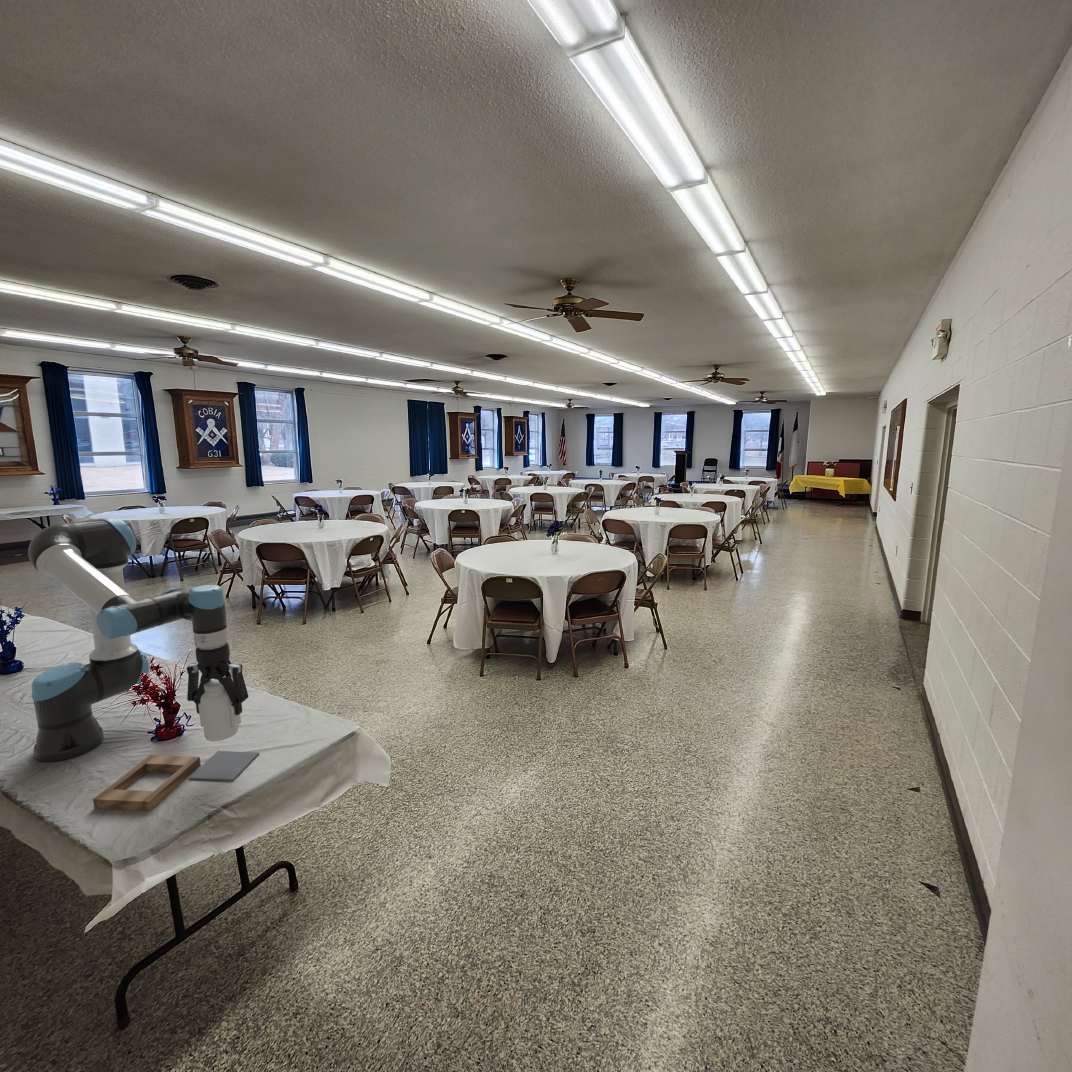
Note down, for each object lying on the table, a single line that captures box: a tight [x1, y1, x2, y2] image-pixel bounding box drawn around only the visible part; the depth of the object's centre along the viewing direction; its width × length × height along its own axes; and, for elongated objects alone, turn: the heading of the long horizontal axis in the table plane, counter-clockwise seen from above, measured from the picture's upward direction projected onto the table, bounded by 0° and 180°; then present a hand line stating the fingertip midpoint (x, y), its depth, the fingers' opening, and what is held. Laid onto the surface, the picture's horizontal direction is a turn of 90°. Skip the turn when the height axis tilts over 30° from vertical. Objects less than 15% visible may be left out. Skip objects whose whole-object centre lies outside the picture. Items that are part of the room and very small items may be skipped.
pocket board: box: [92, 754, 202, 812], centre depth 136 cm, size 14×18×2 cm
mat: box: [188, 750, 260, 782], centre depth 144 cm, size 12×12×1 cm
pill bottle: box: [200, 679, 239, 742], centre depth 141 cm, size 8×8×15 cm
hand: (221, 724), depth 142 cm, fingers closed on pill bottle, 8 cm apart
